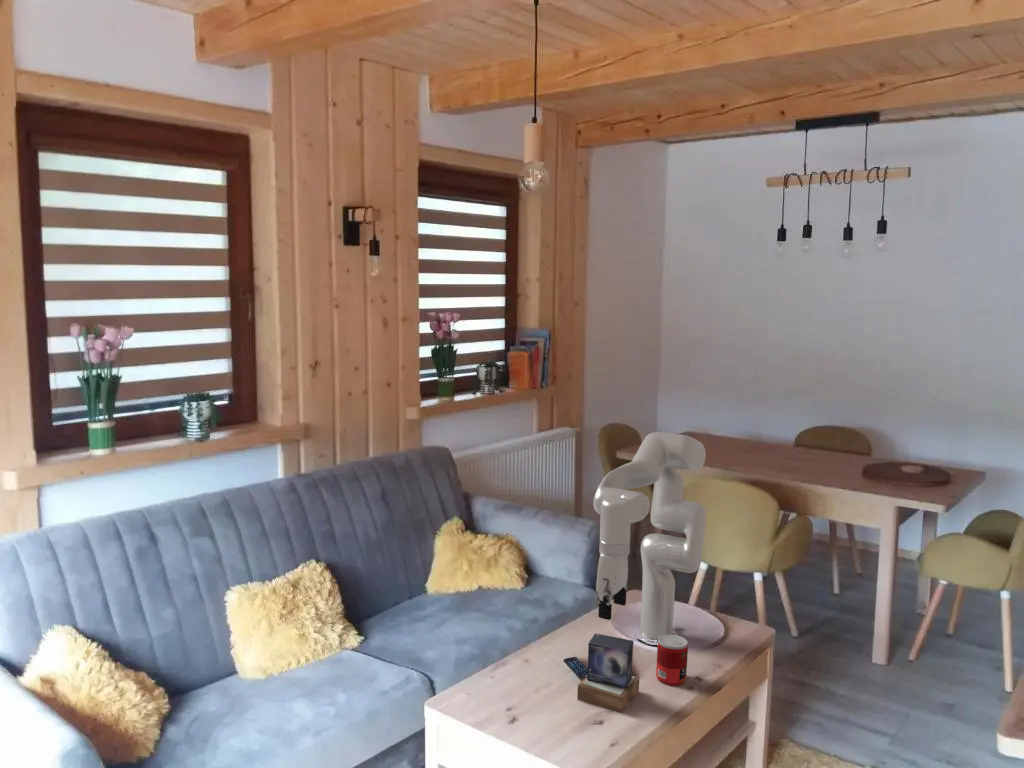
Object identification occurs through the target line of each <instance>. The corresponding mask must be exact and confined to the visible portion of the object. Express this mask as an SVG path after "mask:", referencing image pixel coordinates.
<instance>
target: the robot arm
mask: <svg viewBox="0 0 1024 768" xmlns="http://www.w3.org/2000/svg"><path fill="white" fill-rule="evenodd" d="M706 455H707V453H706V448H705V446H704V444H703V443H702V442H701V441H699V440H698V439H695V438H694V437H691V436H690V435H689V436H688V435H685V434H681V433H679V434H678V433H677V434H676V433H670V432H663V431H662V432H661V431H654V432H650V433H649V434H647V435H646V436H645V438H644V439H643V440H642V442H641V444H640V446H639V448H638V450H637V451H636V453H635V455H634V456H633V458H632V460H631V461H630V462H628V463H627V462H626V463H625V464H623V465H621V466H619V467H616V468H615V469H612V470H611V471H609V472H608V473H606V475H605V476H604V477H603V479H602V480H601V482H600V483H599V484H598V487H597V488H596V490H595V494H594V496H593V508H594V511H595V512H596V513H597V514H598V515H600V517H599V518H600V519H599V521H600V522H599V523H600V524H599V550H598V551H599V554H600V555H599V560H598V563H597V564H598V565H597V572H596V573H597V574H596V575H597V577H596V587H595V588H596V592H597V600H598V601H597V602H598V618H599V619H603V620H607V621H610V620H612V608H613V607H612V606H613V605H612V604H611V601H612V599H613V604H615V605H620V606H626V604H627V590H628V585H627V583H628V580H629V579H628V578H629V557H628V556H629V555H630V552H631V551H630V549H631V524H634V523H637V522H641V521H642V520H644V519H645V518H646V517H647V515H648V514H650V523H651V525H652V526H653V527H654V528H656V529H659V530H664V531H669V532H674V533H680V534H684V535H685V536H686V538H685V537H679V536H674V535H668V534H663V533H650V534H646V535H645V536H644V537H643V538H642V540H641V542H640V555H641V557H640V558H641V567H642V568H641V569H642V580H641V581H642V586H641V607H640V626H638V627H637V628H640V629H639V630H640V634H641V635H642V636H644V637H645V638H647V639H650V640H657V642H656V643H658V638H659V637H660V636H662V635H668V634H671V635H678V633H677V632H676V631H675V630H673V629H674V612H675V611H674V610H675V592H676V579H675V578H674V575H673V572H672V571H678V572H682V573H686V574H687V573H688V574H690V573H695V572H697V571H698V570H699V568H700V567H701V566H700V565H701V562H702V561H701V560H702V554H703V549H704V548H703V546H704V538H705V531H706V520H707V519H706V518H707V517H706V516H707V515H706V508H705V506H703V504H702V503H699V502H697V501H693V500H686V499H684V498H683V493H684V485H685V482H684V479H683V477H682V475H681V473H680V470H684V471H686V470H687V471H691V472H692V471H693V472H697V471H700V469H702V468H703V466H704V465H705V462H706V457H707V456H706ZM650 485H653V493H652V498H651V499H652V501H650V499H649V497H648V495H646V494H645V493H643V492H640V491H636V490H630V489H636V488H637V489H638V488H643V487H646V486H650ZM649 512H650V513H649ZM605 595H606V596H605ZM607 596H608V597H607ZM642 640H644V639H642ZM644 641H646V642H651V643H655V642H654V641H649V640H644Z"/></svg>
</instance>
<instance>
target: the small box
mask: <svg viewBox="0 0 1024 768" xmlns="http://www.w3.org/2000/svg"><path fill="white" fill-rule="evenodd" d="M634 642H635V641H634V640H632V639H627V638H622V637H616V636H612V635H606V634H601V633H594V634H593V636H592V637H591V639H590V640H589V642H588V649H587V650H588V651H587V654H588V655H587V671H586V672H587V674H586V676H587V680H588V681H593V682H598V683H602V684H607V685H611V686H616V687H620V688H625V689H626V688H627V687H628V685H629V683H630V681H631V679H632V676H633V675H632V674H633V656H634V655H633V652H634V651H633V650H634Z"/></svg>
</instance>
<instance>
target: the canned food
mask: <svg viewBox="0 0 1024 768" xmlns="http://www.w3.org/2000/svg"><path fill="white" fill-rule="evenodd" d="M656 647H657V649H656V669H655V671H656V673H655V674H656V675H655V676H656V679H657V680H658V681H659V682H660V683H661V684H664V685H667V686H675V687H676V686H681V685H683V684H684V683H685V682H686V680H687V673H688V672H687V667H688V654H689V653H688V651H689V641H688V640H687V639H686V638H685V637H683V636H681V635H678V634H677V635H671V634H668V635H662V636H660V637H659V638H658V645H657V646H656Z"/></svg>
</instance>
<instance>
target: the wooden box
mask: <svg viewBox="0 0 1024 768" xmlns="http://www.w3.org/2000/svg"><path fill="white" fill-rule="evenodd" d="M639 690H640V676H639V677H638V676H637V675H636V676H635V675H632V679H631V681H630V683H629V685H628V687H627V688H626V689H625V688H620V687H616V686H611V685H607V684H602V683H598V682H593V681H588V680H587V675H586V676H585V677H584V678H583V679H582V680H581V681H580V682H579V683H578V684H577V694H576V695H577V697H576V698H577V699H578V700H577V701H579V700H581V701H580V702H583V701H584V702H583V703H586V702H587V704H589V703H590V705H593V706H597V707H599V706H600V707H599V708H603V709H607V710H610V711H613V712H617V713H619V714H620V713H621V714H622V713H623V712H624V711H625V709H626V708H627V707H628V706H629V704H631V702H632V701H633V700H634V699H635V697H636V696H637V695H638V693H639Z"/></svg>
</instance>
